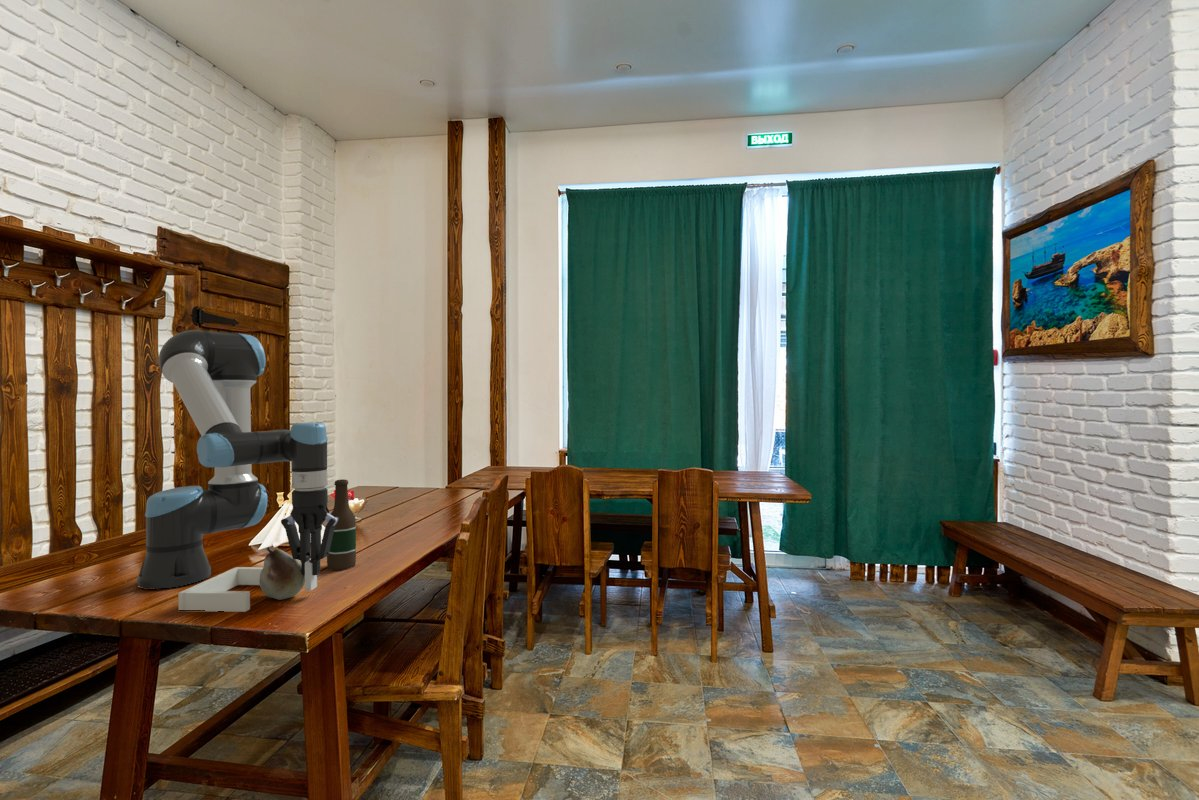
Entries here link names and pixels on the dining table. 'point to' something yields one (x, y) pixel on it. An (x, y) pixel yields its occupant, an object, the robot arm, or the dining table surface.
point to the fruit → (281, 575)
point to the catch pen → (221, 591)
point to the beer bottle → (342, 531)
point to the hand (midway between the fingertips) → (311, 588)
